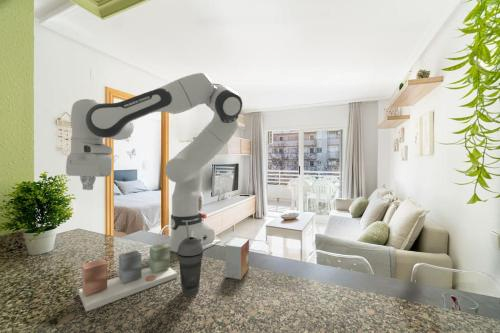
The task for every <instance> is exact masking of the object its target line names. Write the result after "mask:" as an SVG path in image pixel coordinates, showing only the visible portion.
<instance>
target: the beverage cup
mask: <svg viewBox="0 0 500 333" xmlns="http://www.w3.org/2000/svg"><path fill="white" fill-rule="evenodd" d="M186 230H187V238H186V239H184V240H183V241H182V242H181V243H180V245H179V247H178V252H176V255H177V259H178V263H179V274H180V288H181V291H182V292H181V294H182V295H183V296H184V297H193V295H194V296H196V295H197V294H199V288H200V281H201V280H200V279H201V270H202V261H203V260H202V259H203V256H204V255H203V254H204V250H203V247H202V244H201V242H200V241H199V240H198V239H197V238H195V237H189V231H188V222H186Z"/></svg>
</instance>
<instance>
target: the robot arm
mask: <svg viewBox="0 0 500 333" xmlns="http://www.w3.org/2000/svg"><path fill="white" fill-rule="evenodd" d="M204 104H205V105H206V106H207V107H208V108H209V109H210V110H211V111H212V112H213V116H212V119H211V121H210V122H208V124H207V125H206V126H205V127H204V128H203V129H202V130H201V132H199V134H198V135H197V136H196V137H194V139H193V140H191V142H189V143H188V144H187V145H186V146H185V147H184V148H183V149H181V150H180V151H179V152H178V153H176V154H175V156H174V157H172V158H171V159H169V160H168V162H167V163H166V164H165V167H164V173H165V175H166V178H167V179H169V180H170V181H171V182H174V183H175V185H174V189H173V193H172V195H171V215H170V229H171V230H170V238H169V243H168V246H170V252H174V253H177V252H178V247H179V245H180V243H181V242H182V241H183V240H184V239H186V238H187V230H186V222H188V231H189V237H195V238H197V239H198V240H199V241H200V242H201V244H202V247H203V251H205V250H206V249H208V248H211V247H213V246H215V245H218V244H219V243H221V239H220V238H219V237H217V236H216V234H215V230H214V227H212V226H211V225H209V224H208V223H207V222H205V221H204V220H203V219H206V218H207V214H206V213H201V212H200V210H199V205H200V204H199V197H200V188H201V181H202V172H203V168H204V167H205V166H206V164H208V163H209V162H210V161H211V160H213V159H214V158H215V157H216V155H217V154H218V153H219V152H220V151H221V150H222V149H223V148H224V147H225V146H226V145H227V144H228V142H229V141H230V140H231V139H232V137H233V135H234V134H235V133H236V131H237V130H238V128H239V127H238V126H239V123H238V119H239V115H240V114H241V112H242V109H243V100H242V97H241V96H240V94H239V93H238V92H237V91H235V90H233V89H232V88H230V87H228V86H226V85H222V84H218V83H213V82H212V80H211V78H210V77H209V76H208V75H207V74H206V73H204V72H198V73H193V74H189V75H186V76H183V77H180V78H178V79H175V80H173V81H171V82H169V83H166V84H165V85H162V86H160V87H157V88H155V89H153V90H150V91H146V92H144V93H140V94H138V95H135V96H133V97H130V98H127V99H125V100H122V101H119V102H114V103H113V102H112V103H108V102H107V103H101V102H100V101H98V100H95V99H87V98H86V99H85V98H84V99H78V100H76V101H75V102H73V104H72V106H71V111H70V112H71V113H70V128H71V131H72V134H71V137H70V153H69V154H68V155H67V158H66V161H65V162H66V165H65V173H66V175H67V176H70V177H71V176H72V177H73V176H74V177H79V180H80V183H81V184H82V190H84V191H92V190H94V184H95V182H96V178H98V177H99V178H100V177H101V178H104V177H105V178H106V177H110V176H111V174H112V172H113V170H112V169H113V161H112V160H113V159H112V155H111V154H113V147H111V146H109V145H106V144H105V143H104V138H105V139H107V138H108V139H110V140H111V139H112V140H116V141H123V140H126V139H128V138H130V137H131V135H132V134H133V132H134V123H133V122H134V121H136V120H138V119H140V118H144V117H146V116H148V115H150V114H153V113H158V112H159V113H160V112H161V113H167V114H168V113H169V114H172V115H175V114H181V113H184V112H186V111H189V110H191V109H194V108H195V107H197V106H199V105H204Z"/></svg>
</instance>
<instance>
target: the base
mask: <svg viewBox="0 0 500 333" xmlns="http://www.w3.org/2000/svg"><path fill="white" fill-rule="evenodd" d="M177 278H178V272H176V270H174V269H172V267H170V268H167V269H164V270H161V271H158V272H153V271H152V270H151V269H150V266H149V267H145V268H141V277H140V278H137V279H134V280H131V281H128V282H125V283H123V282H122V281H121V280H120V278H119V276H117V277H113V278H110V279H107V289H105V290H102V291H99V292H96V293H93V294H90V295H87V296H85V294H84V292H83V287H81V288H79V289H78V295H79V298H80V300H81V303H82V304H83V307H84V311H85V312H86V313H87V312H89V311H92V310H95V309H97V308H100V307H103V306H104V305H108V304H110V303H114V302H115V301H118V300H119V301H120V299H121V300H122V299H124V298H126V297H129V296H132V295H134V294H137V293H139V292H143V291H145V290H148V289H151V288H153V287H155V286H158V285H161V284H164V283H166V282H168V281H171V280H174V279H177Z"/></svg>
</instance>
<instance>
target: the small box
mask: <svg viewBox="0 0 500 333" xmlns="http://www.w3.org/2000/svg"><path fill="white" fill-rule="evenodd" d="M224 246H225V251H224V252H225V254H224V255H225V262H224V264H225V265H224V266H225V268H224V270H225V271H224V273H225V274H224V276H225V278H230V279H235V280H242V279H243V277H244V276H245V275H246V273H247V272H249V269H250V268H249V267H250V239H249V238H241V237H240V238H239V237H234V238H233V239H231V241H229V242H228V243H227V244H225V245H224Z"/></svg>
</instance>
